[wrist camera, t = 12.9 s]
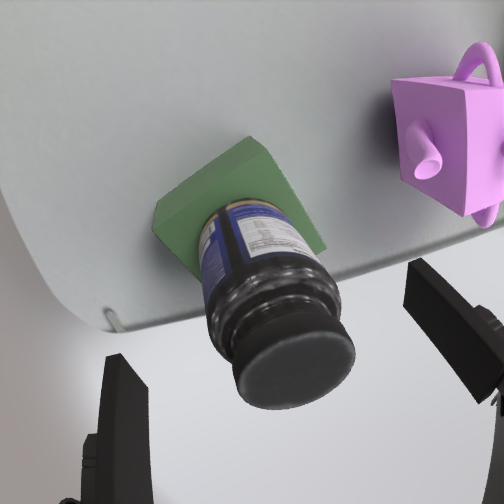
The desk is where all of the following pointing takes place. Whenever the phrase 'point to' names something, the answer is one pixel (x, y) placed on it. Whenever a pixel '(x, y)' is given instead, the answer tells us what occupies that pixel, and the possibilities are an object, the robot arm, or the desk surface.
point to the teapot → (455, 135)
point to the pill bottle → (271, 307)
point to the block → (227, 200)
